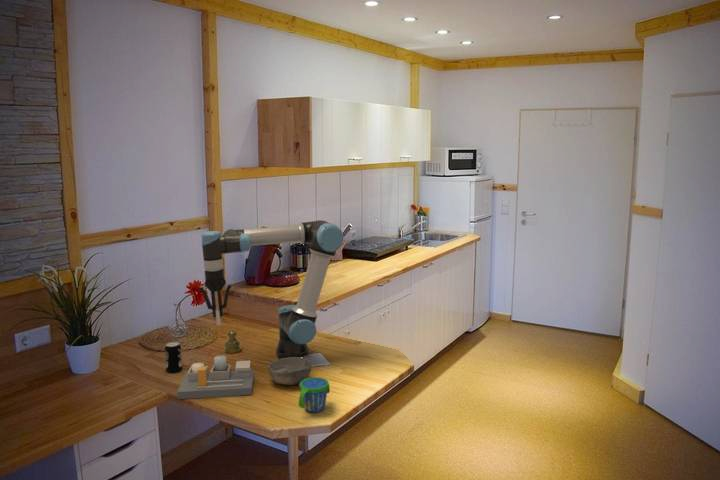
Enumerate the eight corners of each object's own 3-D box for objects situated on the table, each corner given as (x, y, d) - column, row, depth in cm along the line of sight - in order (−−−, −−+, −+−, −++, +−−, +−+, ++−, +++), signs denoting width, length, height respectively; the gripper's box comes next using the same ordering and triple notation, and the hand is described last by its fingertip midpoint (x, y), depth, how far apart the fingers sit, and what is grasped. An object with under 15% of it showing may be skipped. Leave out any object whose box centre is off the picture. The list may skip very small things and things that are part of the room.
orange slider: (207, 383, 226) (206, 367, 225) (206, 387, 223) (205, 369, 222) (199, 384, 226) (198, 367, 225) (198, 387, 223) (197, 370, 222)
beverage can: (177, 373, 245) (175, 347, 243) (163, 372, 246) (161, 346, 244) (185, 368, 251) (183, 341, 249) (171, 367, 252) (169, 340, 250)
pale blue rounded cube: (227, 366, 236) (226, 354, 235) (226, 371, 231) (225, 359, 231) (215, 367, 236) (214, 355, 235) (213, 371, 231) (213, 359, 230)
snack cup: (309, 420, 202) (309, 393, 200) (289, 412, 209) (288, 385, 207) (339, 405, 214) (339, 379, 212) (319, 397, 221) (318, 372, 219)
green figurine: (243, 351, 271) (242, 331, 269) (228, 354, 267) (227, 334, 265) (237, 347, 277) (236, 327, 275) (222, 350, 273) (221, 330, 271)
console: (254, 376, 241) (253, 362, 240) (251, 395, 223) (250, 379, 222) (185, 380, 238) (185, 365, 237) (177, 399, 220) (176, 383, 219)
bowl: (294, 370, 248) (293, 352, 247) (320, 381, 236) (320, 363, 234) (259, 382, 236) (259, 363, 234) (285, 394, 223) (285, 375, 222)
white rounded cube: (205, 373, 236) (204, 362, 235) (203, 378, 231) (202, 366, 230) (193, 374, 235) (192, 362, 234) (191, 379, 230) (190, 367, 229)
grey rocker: (250, 363, 237) (250, 360, 237) (249, 370, 233) (249, 367, 232) (236, 364, 237) (236, 361, 236) (235, 371, 232) (235, 368, 232)
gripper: (230, 266, 239) (235, 320, 243) (198, 268, 237) (204, 322, 241) (229, 270, 232) (234, 325, 236) (196, 272, 230) (201, 328, 234)
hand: (219, 324), depth 239 cm, fingers closed
